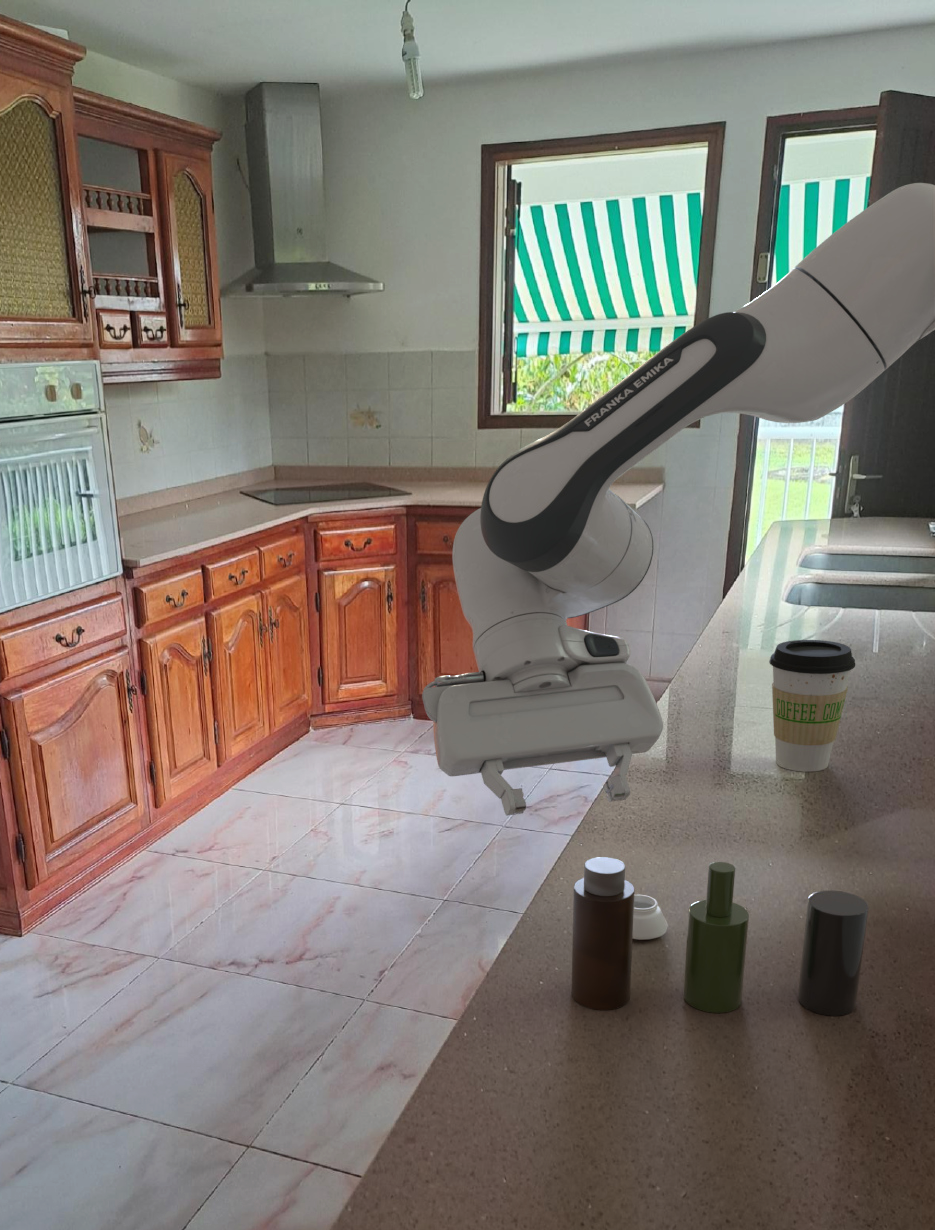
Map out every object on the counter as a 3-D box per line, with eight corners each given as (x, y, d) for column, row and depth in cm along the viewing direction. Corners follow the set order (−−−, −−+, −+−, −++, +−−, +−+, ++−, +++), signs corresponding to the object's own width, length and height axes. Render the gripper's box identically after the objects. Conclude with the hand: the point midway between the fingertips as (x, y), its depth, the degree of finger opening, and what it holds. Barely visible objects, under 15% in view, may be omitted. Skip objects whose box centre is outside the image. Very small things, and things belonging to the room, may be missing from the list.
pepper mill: (614, 976, 97) (619, 849, 92) (639, 1004, 92) (646, 873, 88) (562, 984, 96) (565, 857, 92) (585, 1014, 92) (589, 881, 87)
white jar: (661, 946, 101) (670, 922, 105) (663, 917, 100) (672, 894, 104) (606, 938, 103) (617, 914, 107) (607, 909, 102) (618, 886, 106)
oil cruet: (735, 984, 95) (746, 855, 90) (746, 1014, 90) (758, 879, 86) (679, 982, 95) (687, 854, 91) (687, 1012, 91) (696, 879, 87)
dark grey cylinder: (847, 987, 93) (859, 890, 90) (862, 1016, 89) (875, 916, 86) (792, 986, 94) (802, 889, 91) (804, 1015, 90) (815, 915, 86)
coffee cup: (790, 781, 137) (802, 661, 131) (745, 756, 146) (754, 643, 140) (861, 770, 139) (875, 652, 133) (812, 746, 148) (823, 635, 142)
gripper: (423, 660, 97) (460, 805, 91) (643, 637, 100) (691, 775, 95) (411, 696, 102) (445, 835, 97) (620, 673, 106) (663, 805, 101)
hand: (568, 805), depth 96 cm, fingers open, 8 cm apart
